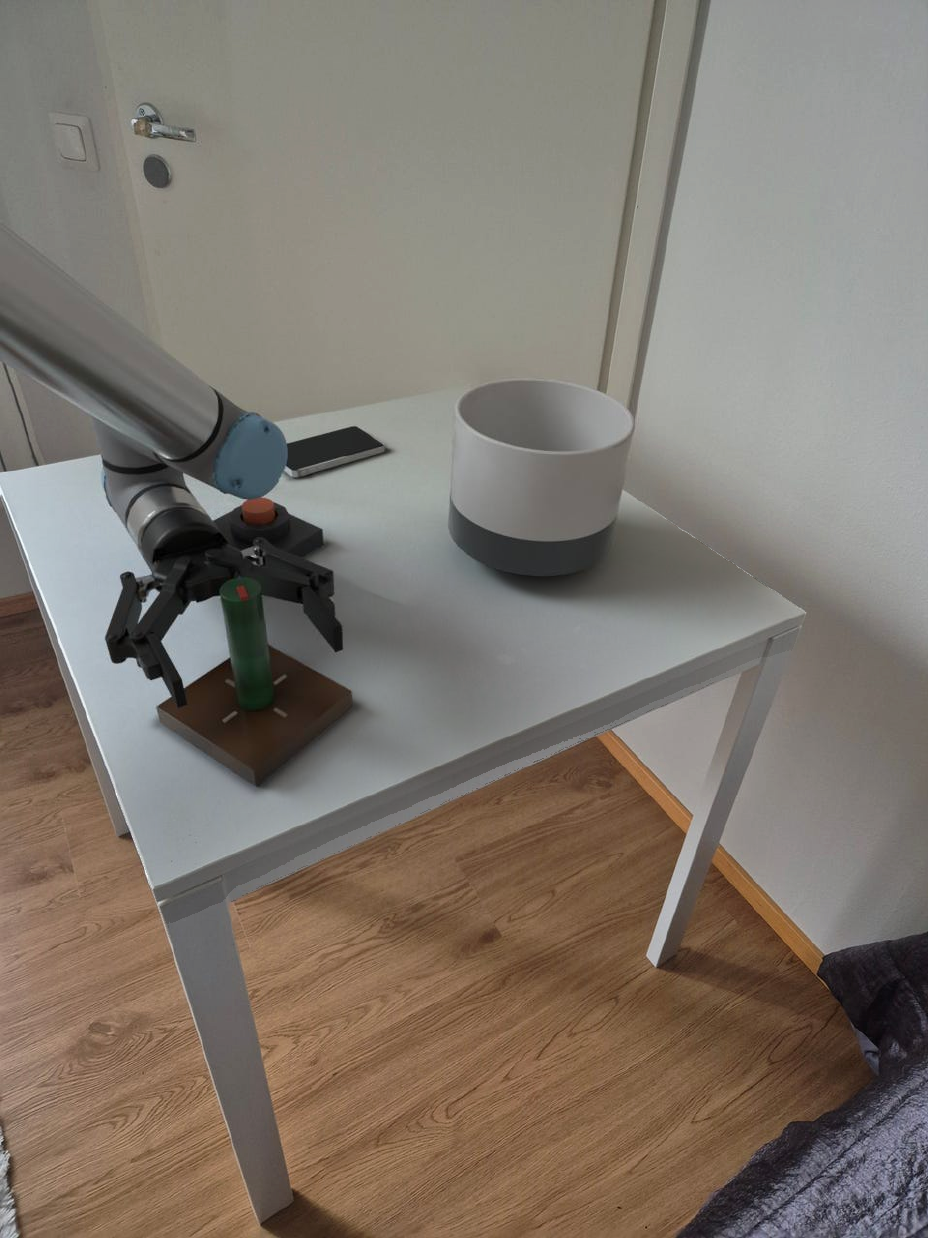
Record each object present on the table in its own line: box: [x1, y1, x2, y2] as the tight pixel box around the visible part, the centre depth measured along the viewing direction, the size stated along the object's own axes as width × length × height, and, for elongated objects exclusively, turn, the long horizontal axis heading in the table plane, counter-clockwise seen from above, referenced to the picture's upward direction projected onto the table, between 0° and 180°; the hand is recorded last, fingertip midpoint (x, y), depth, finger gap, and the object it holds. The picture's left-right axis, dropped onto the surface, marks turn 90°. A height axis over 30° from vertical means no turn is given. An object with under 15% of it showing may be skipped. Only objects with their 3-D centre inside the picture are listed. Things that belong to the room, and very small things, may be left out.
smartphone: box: [284, 425, 386, 478], centre depth 112 cm, size 8×1×15 cm
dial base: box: [156, 643, 353, 787], centre depth 72 cm, size 12×12×2 cm
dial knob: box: [219, 577, 274, 711], centre depth 67 cm, size 3×3×12 cm
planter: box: [447, 377, 636, 577], centre depth 91 cm, size 19×19×18 cm
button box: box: [212, 501, 324, 559], centre depth 93 cm, size 11×9×4 cm
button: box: [241, 497, 275, 525], centre depth 91 cm, size 4×4×2 cm
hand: (263, 665), depth 65 cm, fingers open, 13 cm apart
